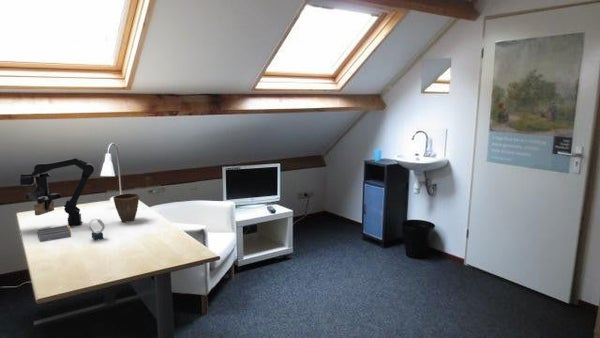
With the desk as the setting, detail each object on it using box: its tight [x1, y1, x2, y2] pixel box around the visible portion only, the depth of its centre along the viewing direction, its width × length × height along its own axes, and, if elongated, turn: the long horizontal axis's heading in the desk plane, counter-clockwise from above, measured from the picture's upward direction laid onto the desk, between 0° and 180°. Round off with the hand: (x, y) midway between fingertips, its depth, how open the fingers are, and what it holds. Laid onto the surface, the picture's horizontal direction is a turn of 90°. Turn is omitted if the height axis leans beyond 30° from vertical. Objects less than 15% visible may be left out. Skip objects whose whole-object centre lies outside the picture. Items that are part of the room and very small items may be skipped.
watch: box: [87, 218, 106, 241], centre depth 222 cm, size 6×8×11 cm
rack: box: [37, 224, 72, 242], centre depth 228 cm, size 15×15×4 cm
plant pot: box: [112, 193, 140, 223], centre depth 256 cm, size 15×15×16 cm
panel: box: [33, 200, 55, 216], centre depth 241 cm, size 12×2×6 cm, turn 171°
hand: (44, 210), depth 242 cm, fingers closed on panel, 2 cm apart
